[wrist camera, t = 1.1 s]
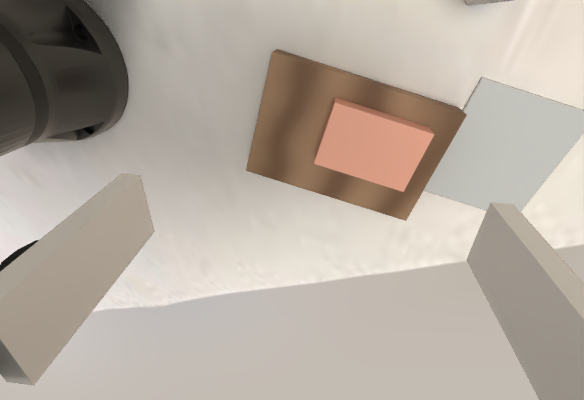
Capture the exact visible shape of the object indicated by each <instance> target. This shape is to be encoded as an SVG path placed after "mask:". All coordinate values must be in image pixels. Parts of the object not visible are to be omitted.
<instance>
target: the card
mask: <svg viewBox="0 0 584 400" xmlns="http://www.w3.org/2000/svg"><path fill="white" fill-rule="evenodd" d="M433 136H434V133H433V132H432V130H431V129H430V128H429V127H427V126H423V125H420V124H417V123H414V122H411V121H408V120H405V119H402V118H398V117H395V116H392V115H389V114H386V113H383V112H380V111H377V110H374V109H370V108H367V107H364V106H361V105H358V104H355V103H352V102H349V101H345V100H342V99H339V98H336V97H335V100H334V103H333V106H332V109H331V112H330V115H329V118H328V121H327V124H326V127H325V129H324V132H323V135H322V138H321V141H320V144H319V147H318V150H317V153H316V156H315V161H314V164H316V165H319V166H323V167H326V168H329V169H332V170H335V171H338V172H342V173H345V174H348V175H351V176H354V177H357V178H361V179H364V180H367V181H370V182H373V183H376V184H380V185H383V186H386V187H389V188H392V189H395V190H399V191H402V192H404V190H405V188H406V186H407V184H408V183H409V181H410V179H411V177H412V175H413V173H414V172H415V170H416V168H417V166H418V164H419V162H420V160H421V159H422V157H423V155H424V153H425V151H426V149H427V147H428V146H429V144H430V142H431V140H432V138H433Z"/></svg>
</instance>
